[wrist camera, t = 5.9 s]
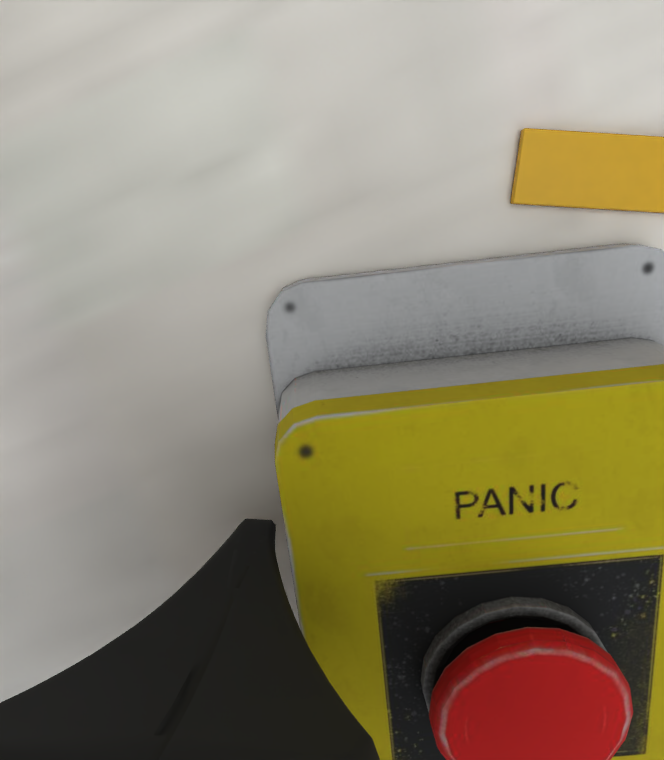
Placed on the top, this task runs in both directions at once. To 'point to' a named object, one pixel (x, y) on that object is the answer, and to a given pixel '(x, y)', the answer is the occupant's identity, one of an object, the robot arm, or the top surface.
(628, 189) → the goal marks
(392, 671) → the emergency button
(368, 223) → the top surface
